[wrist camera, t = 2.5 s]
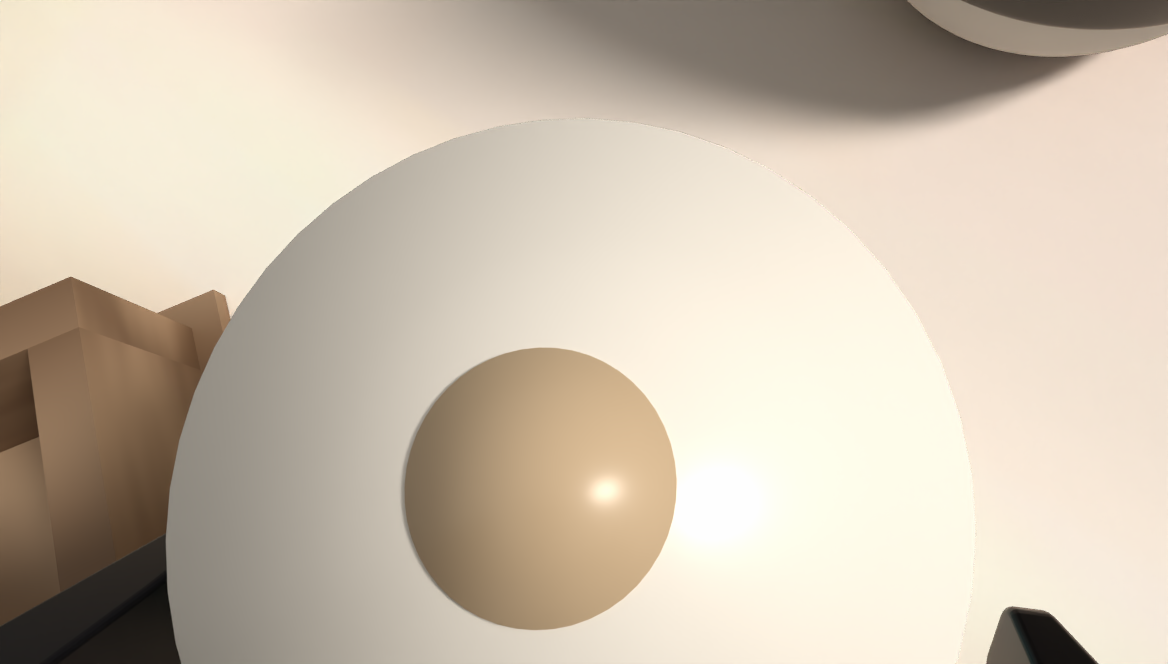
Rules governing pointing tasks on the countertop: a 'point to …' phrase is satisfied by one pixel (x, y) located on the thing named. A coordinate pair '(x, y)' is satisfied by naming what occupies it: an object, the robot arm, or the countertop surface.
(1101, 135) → the countertop surface
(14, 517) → the holder
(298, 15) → the countertop surface
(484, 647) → the white bottle
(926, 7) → the dark egg shaped speaker
